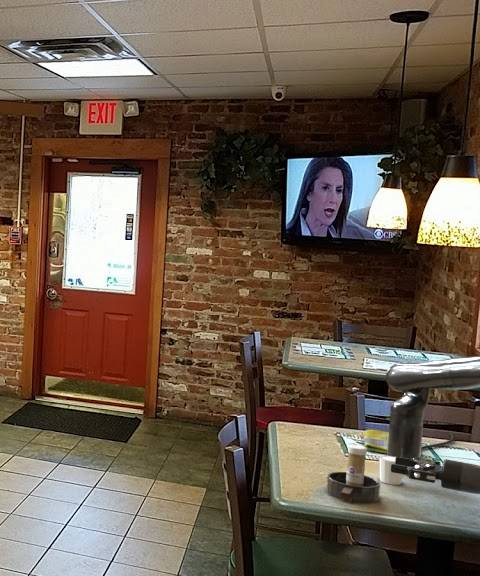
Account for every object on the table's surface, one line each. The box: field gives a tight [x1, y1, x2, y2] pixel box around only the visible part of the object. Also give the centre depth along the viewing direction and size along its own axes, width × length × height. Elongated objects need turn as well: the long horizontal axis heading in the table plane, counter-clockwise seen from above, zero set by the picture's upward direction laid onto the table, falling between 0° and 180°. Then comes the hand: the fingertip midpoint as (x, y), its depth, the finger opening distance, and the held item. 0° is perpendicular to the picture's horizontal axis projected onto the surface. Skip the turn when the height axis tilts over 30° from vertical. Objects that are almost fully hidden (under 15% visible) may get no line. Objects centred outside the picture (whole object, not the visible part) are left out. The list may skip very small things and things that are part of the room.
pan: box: [325, 471, 381, 504], centre depth 216 cm, size 13×13×4 cm
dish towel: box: [363, 429, 389, 454], centre depth 267 cm, size 18×24×3 cm
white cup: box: [378, 455, 404, 486], centre depth 229 cm, size 7×7×7 cm
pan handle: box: [340, 487, 354, 504], centre depth 208 cm, size 6×2×4 cm, turn 144°
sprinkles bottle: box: [346, 444, 368, 487], centre depth 215 cm, size 5×5×13 cm
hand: (393, 464), depth 210 cm, fingers open, 8 cm apart
